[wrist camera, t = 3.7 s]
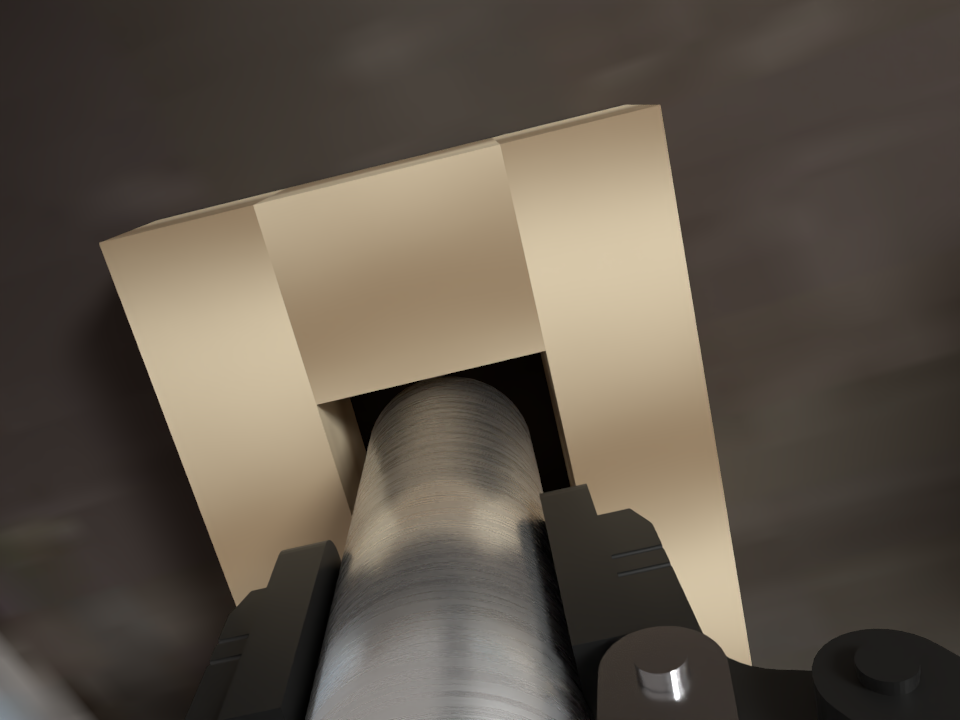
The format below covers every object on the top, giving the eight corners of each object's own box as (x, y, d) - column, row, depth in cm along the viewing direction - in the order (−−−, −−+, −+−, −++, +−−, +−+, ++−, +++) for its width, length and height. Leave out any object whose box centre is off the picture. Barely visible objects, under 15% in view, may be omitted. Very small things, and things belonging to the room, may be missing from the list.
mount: (157, 220, 17) (99, 242, 14) (624, 104, 17) (660, 104, 14) (322, 685, 21) (300, 777, 18) (711, 598, 20) (753, 679, 18)
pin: (323, 382, 16) (-17, 1164, 4) (528, 335, 16) (741, 1016, 4) (379, 560, 17) (229, 1532, 6) (569, 519, 17) (818, 1431, 5)
